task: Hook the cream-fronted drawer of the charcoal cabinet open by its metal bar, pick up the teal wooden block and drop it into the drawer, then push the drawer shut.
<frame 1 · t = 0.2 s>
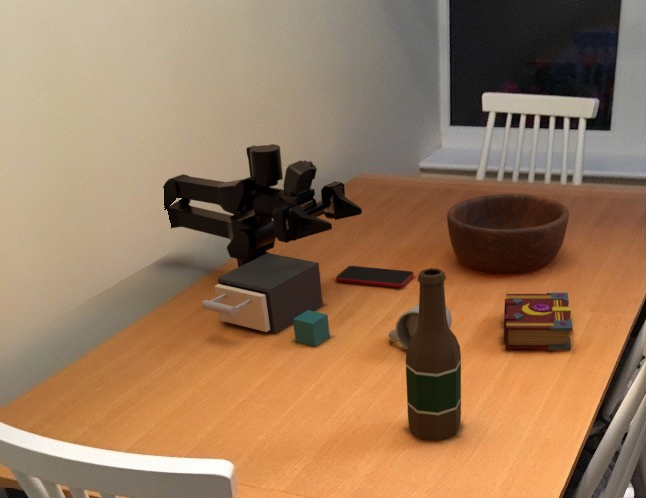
hand: (346, 218, 153), 17 cm above the table, tool horizontal, fingers open, 9 cm apart
block: (312, 339, 150), on the table
drawer: (253, 301, 155), point 4 cm above the table, slide at 0.5 cm
beer bottle: (434, 429, 123), on the table
cabinet: (274, 312, 161), on the table
wooden bowl: (505, 260, 178), on the table
ceramic mug: (418, 345, 146), on the table
decorative book: (536, 332, 148), on the table
smartphone: (375, 279, 172), on the table
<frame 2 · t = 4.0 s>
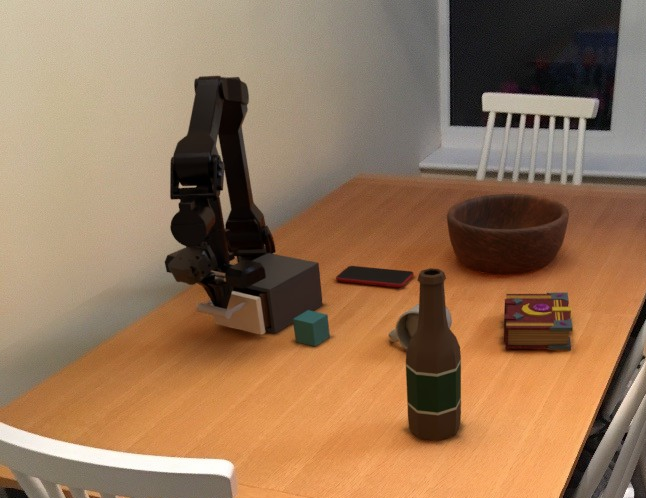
hand: (222, 313, 149), 5 cm above the table, tool pointing down, fingers closed, pressing on drawer
drawer: (248, 304, 154), point 4 cm above the table, slide at 1.9 cm, touching gripper
everything else where it was.
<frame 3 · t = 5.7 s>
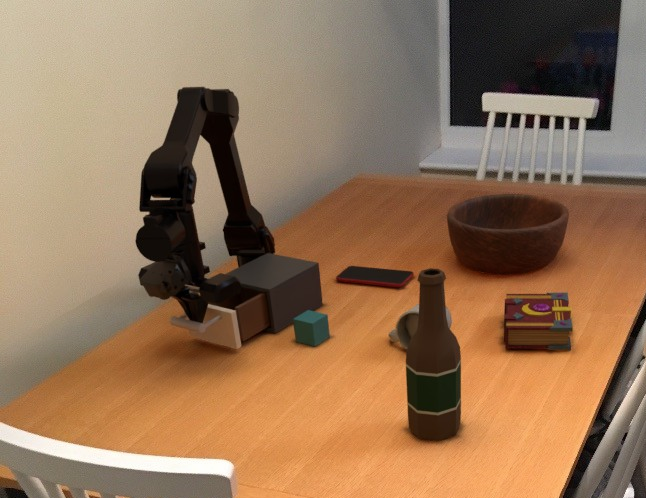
hand: (198, 327, 145), 5 cm above the table, tool pointing down, fingers closed
drawer: (224, 317, 150), point 4 cm above the table, slide at 8.4 cm
everything else where it was.
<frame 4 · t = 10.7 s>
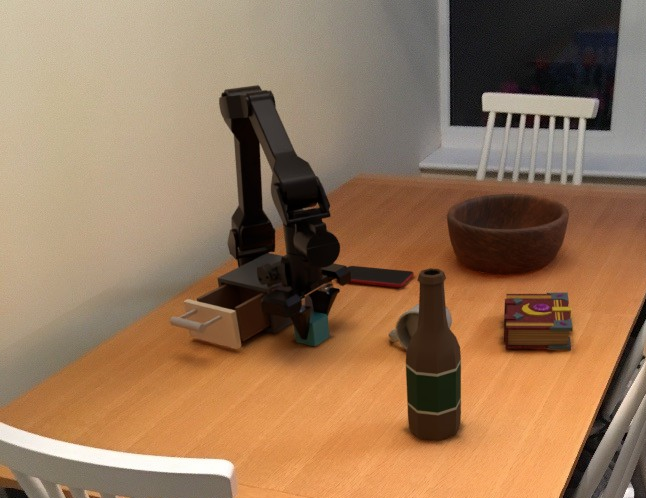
hand: (312, 334, 150), 1 cm above the table, tool pointing down, fingers closed on block, 4 cm apart
block: (312, 339, 150), on the table, touching gripper
everything else where it was.
when the fingers open (7 cm above the table, at t = 14.8 s): block drops 1 cm, point 5 cm above the table.
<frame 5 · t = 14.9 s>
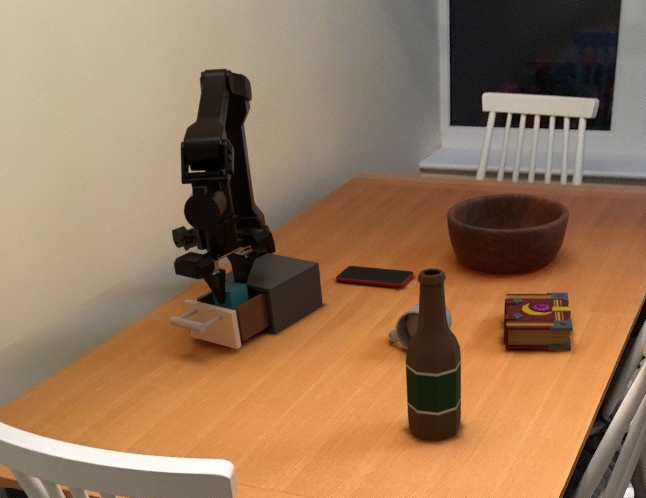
hand: (231, 298, 150), 7 cm above the table, tool pointing down, fingers open, 5 cm apart
block: (233, 309, 151), point 5 cm above the table
everything else where it was.
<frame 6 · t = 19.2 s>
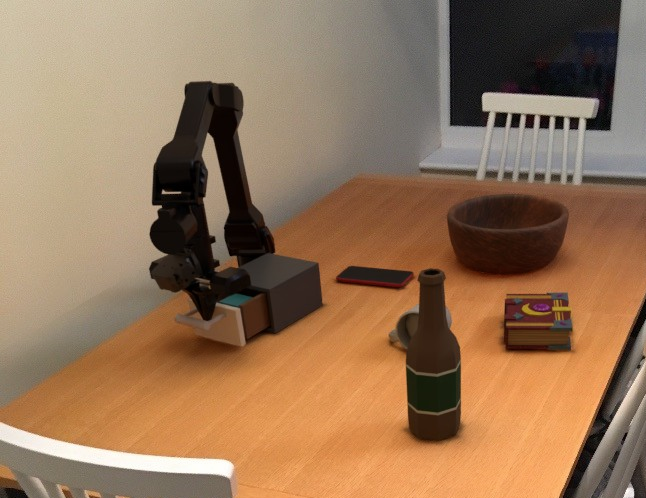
hand: (207, 321, 146), 5 cm above the table, tool pointing down, fingers closed
block: (239, 321, 153), point 2 cm above the table, touching drawer
drawer: (229, 314, 150), point 4 cm above the table, slide at 7.3 cm, touching block
everything else where it was.
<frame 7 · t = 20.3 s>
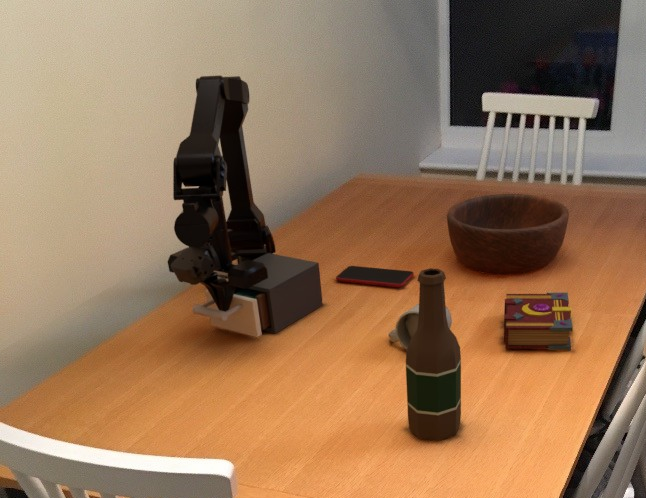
hand: (224, 313, 149), 5 cm above the table, tool pointing down, fingers closed, pressing on drawer
block: (255, 313, 156), point 2 cm above the table, touching drawer
drawer: (245, 306, 153), point 4 cm above the table, slide at 2.9 cm, touching block, gripper
everything else where it was.
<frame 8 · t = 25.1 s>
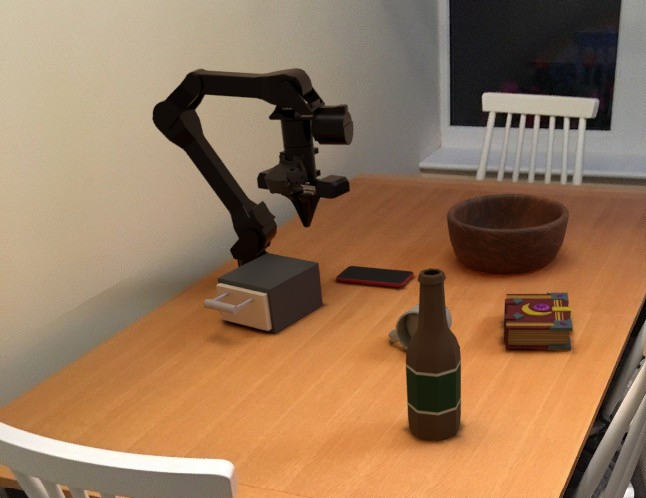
hand: (307, 226, 165), 12 cm above the table, tool pointing down, fingers closed
block: (265, 307, 158), point 2 cm above the table, touching drawer
drawer: (255, 300, 155), point 4 cm above the table, slide at 0.0 cm, touching block, cabinet
everything else where it was.
at the end: drawer pulled out 8.4 cm at the most during the clip, back to where it started at the end; block inside the target area in the cabinet (2.3 cm from its centre), point 2.0 cm above the cabinet's base; drawer slide at 0.0 cm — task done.
